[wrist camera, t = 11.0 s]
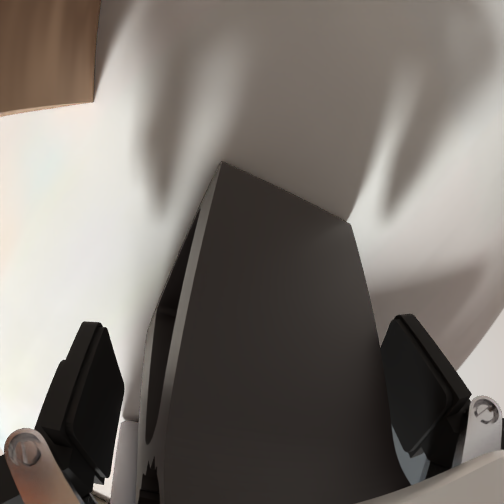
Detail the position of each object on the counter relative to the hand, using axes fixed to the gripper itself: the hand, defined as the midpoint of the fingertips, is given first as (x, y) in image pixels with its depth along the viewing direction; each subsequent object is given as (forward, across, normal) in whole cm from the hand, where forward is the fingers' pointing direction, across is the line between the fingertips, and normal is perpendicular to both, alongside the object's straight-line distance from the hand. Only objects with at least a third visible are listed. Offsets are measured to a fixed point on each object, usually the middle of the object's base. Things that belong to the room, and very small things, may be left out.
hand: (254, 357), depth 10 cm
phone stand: (+5, 0, 0) cm, 5 cm away
